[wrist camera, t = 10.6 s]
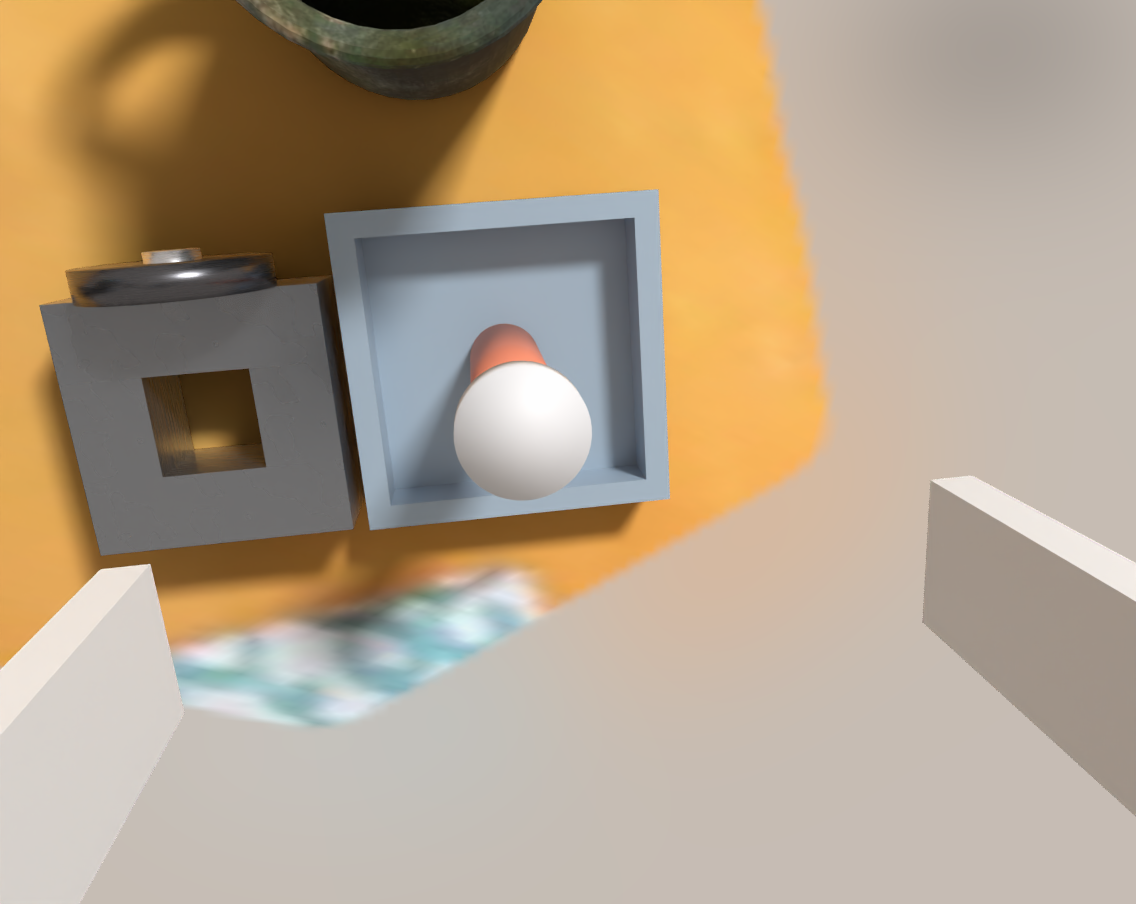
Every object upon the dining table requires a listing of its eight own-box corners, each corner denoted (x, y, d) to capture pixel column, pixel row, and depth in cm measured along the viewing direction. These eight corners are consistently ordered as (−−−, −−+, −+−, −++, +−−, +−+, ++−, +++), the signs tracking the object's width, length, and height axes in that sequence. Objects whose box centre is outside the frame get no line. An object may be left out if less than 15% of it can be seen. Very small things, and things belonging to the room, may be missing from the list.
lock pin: (463, 406, 37) (461, 507, 25) (453, 315, 36) (446, 373, 24) (553, 398, 38) (595, 493, 25) (547, 308, 36) (587, 360, 24)
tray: (377, 506, 39) (370, 530, 36) (335, 212, 35) (323, 213, 32) (655, 477, 40) (669, 498, 37) (643, 190, 36) (658, 189, 34)
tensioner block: (137, 520, 38) (60, 593, 31) (76, 254, 35) (-26, 267, 27) (364, 497, 39) (341, 563, 32) (326, 236, 35) (290, 243, 28)
